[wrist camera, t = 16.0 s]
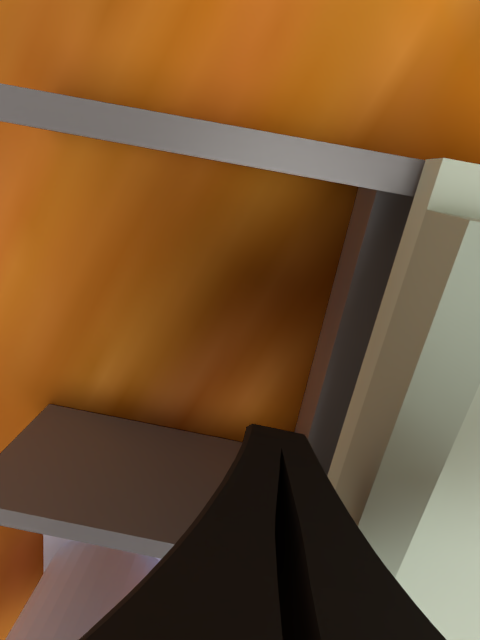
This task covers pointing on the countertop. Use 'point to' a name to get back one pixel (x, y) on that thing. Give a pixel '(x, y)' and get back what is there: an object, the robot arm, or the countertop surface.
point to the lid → (424, 408)
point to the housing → (177, 445)
